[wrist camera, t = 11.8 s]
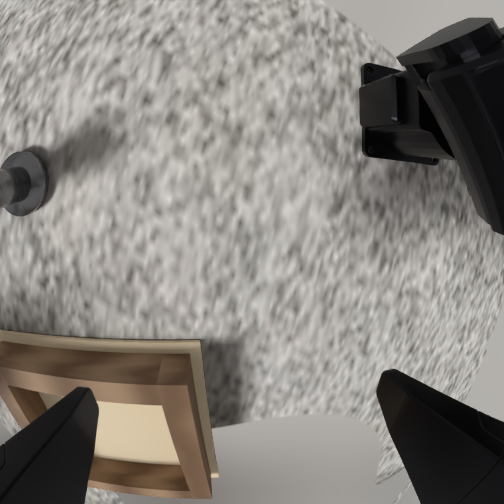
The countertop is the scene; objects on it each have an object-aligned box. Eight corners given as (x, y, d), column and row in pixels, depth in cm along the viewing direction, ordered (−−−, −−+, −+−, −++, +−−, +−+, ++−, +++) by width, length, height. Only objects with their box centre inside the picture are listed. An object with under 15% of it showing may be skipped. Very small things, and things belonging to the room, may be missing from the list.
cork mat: (200, 340, 21) (200, 342, 21) (218, 475, 27) (218, 477, 27) (-9, 328, 19) (-10, 330, 18) (63, 459, 25) (62, 461, 25)
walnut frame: (189, 353, 21) (187, 385, 18) (211, 473, 26) (212, 498, 23) (1, 340, 19) (-17, 362, 16) (67, 458, 24) (60, 479, 21)
